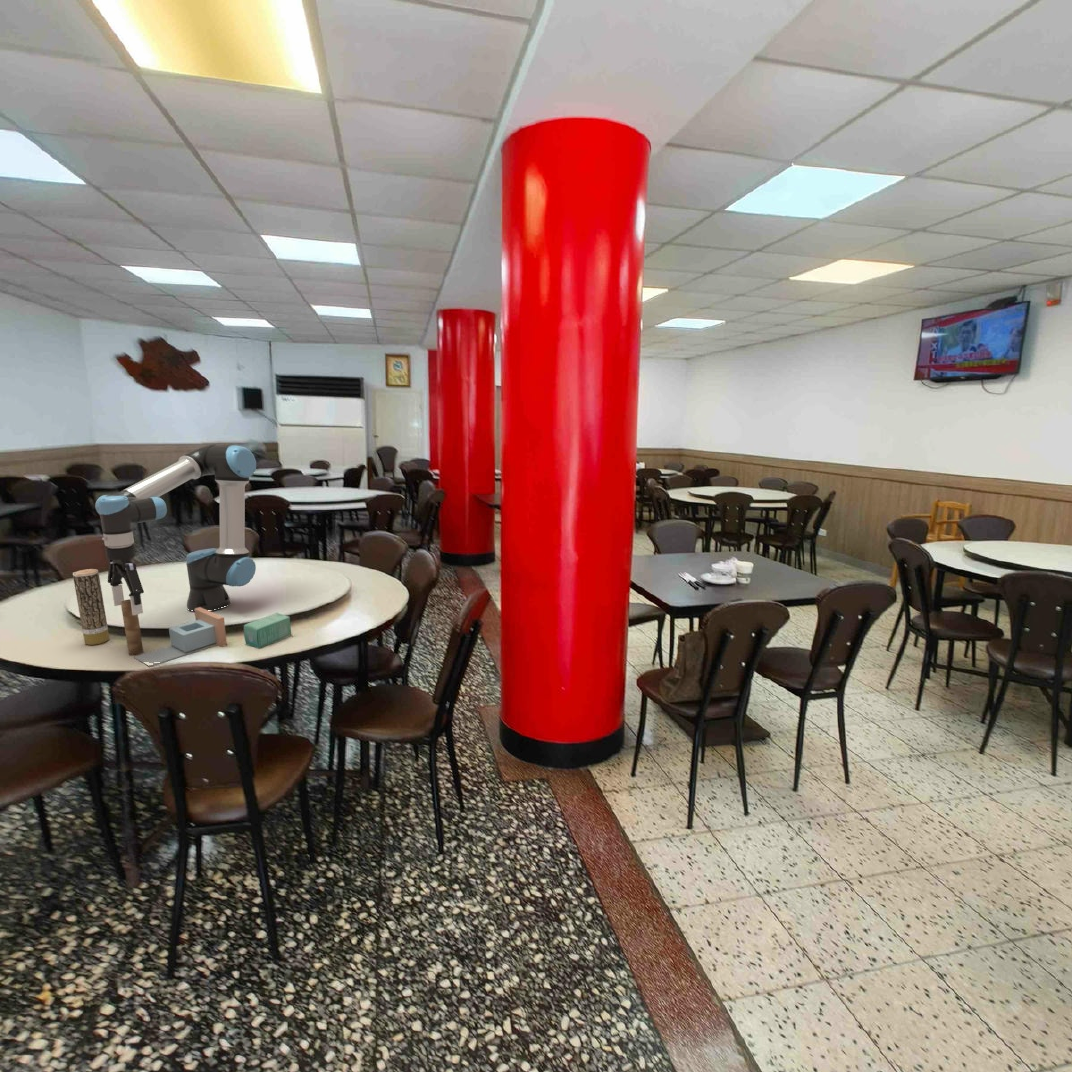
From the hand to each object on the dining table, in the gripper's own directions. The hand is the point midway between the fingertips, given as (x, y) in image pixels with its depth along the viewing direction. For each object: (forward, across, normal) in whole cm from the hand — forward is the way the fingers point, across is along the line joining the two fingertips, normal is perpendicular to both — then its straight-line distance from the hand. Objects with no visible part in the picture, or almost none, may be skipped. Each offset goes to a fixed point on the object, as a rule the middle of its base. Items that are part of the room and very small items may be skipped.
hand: (128, 609), depth 187 cm
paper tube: (+16, -20, -4) cm, 26 cm away
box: (+15, +24, +32) cm, 43 cm away
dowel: (+15, 0, 0) cm, 15 cm away
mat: (+15, +9, +10) cm, 20 cm away
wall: (+15, +9, +20) cm, 27 cm away
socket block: (+15, +9, +14) cm, 23 cm away
